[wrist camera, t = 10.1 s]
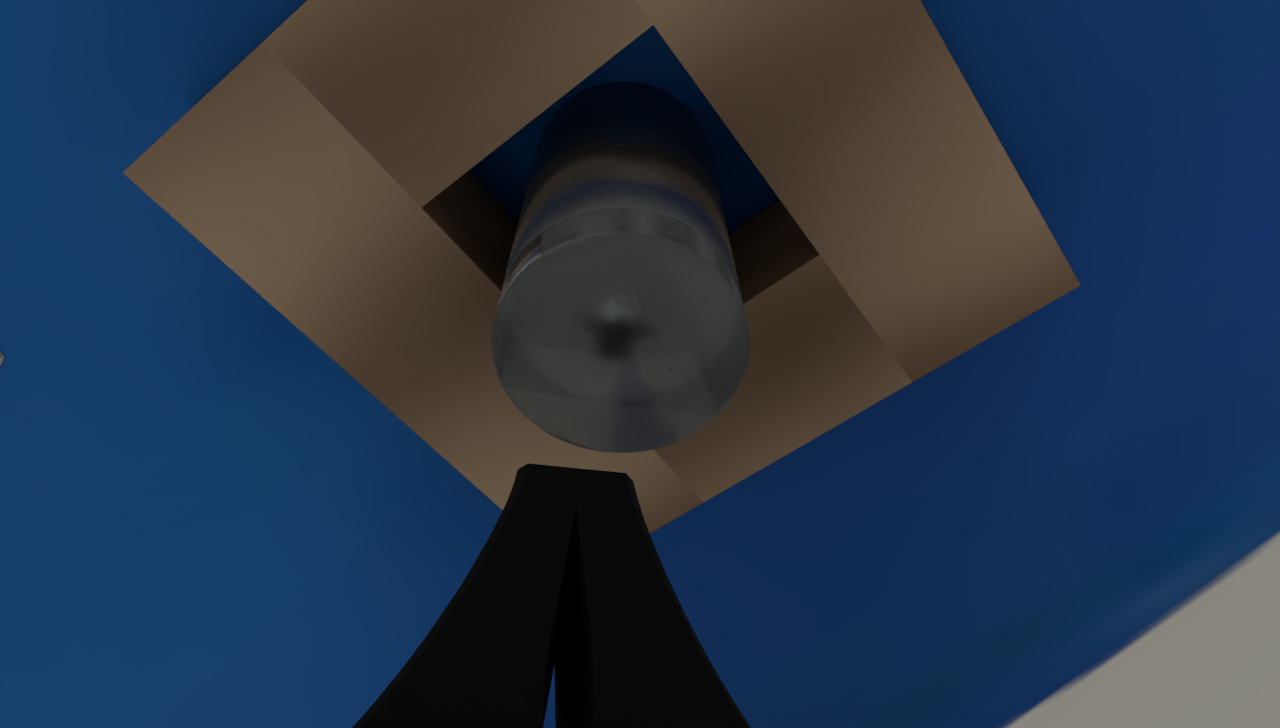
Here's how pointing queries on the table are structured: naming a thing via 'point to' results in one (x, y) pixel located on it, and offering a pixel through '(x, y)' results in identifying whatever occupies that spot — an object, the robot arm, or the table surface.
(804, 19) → the block
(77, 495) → the table surface
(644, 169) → the pin
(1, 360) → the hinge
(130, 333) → the table surface
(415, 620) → the table surface
